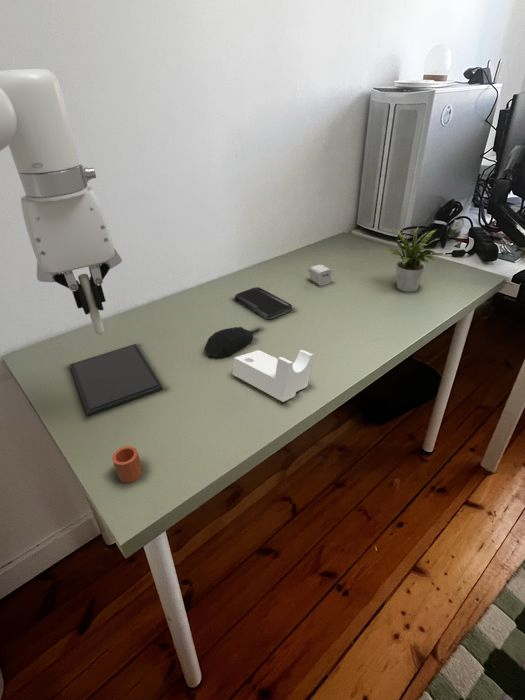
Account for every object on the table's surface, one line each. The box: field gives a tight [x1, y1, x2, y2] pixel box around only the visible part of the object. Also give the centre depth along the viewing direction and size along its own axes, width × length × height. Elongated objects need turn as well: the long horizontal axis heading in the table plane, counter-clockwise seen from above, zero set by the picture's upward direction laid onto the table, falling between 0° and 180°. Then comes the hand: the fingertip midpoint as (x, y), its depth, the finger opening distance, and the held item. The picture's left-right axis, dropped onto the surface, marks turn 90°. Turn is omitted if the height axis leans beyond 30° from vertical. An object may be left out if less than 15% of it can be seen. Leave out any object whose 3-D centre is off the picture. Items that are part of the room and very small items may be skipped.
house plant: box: [384, 225, 439, 293], centre depth 109 cm, size 14×14×16 cm
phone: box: [234, 286, 293, 320], centre depth 109 cm, size 8×1×15 cm
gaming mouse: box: [204, 326, 260, 358], centre depth 94 cm, size 6×15×4 cm, turn 134°
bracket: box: [231, 349, 314, 403], centre depth 82 cm, size 13×7×8 cm, turn 47°
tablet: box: [69, 343, 164, 417], centre depth 86 cm, size 14×18×1 cm
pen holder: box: [111, 445, 143, 484], centre depth 65 cm, size 4×4×4 cm
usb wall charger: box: [307, 263, 333, 287], centre depth 119 cm, size 4×7×4 cm, turn 29°
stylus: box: [77, 273, 105, 335], centre depth 66 cm, size 1×1×10 cm
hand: (92, 308), depth 66 cm, fingers closed on stylus, 1 cm apart
